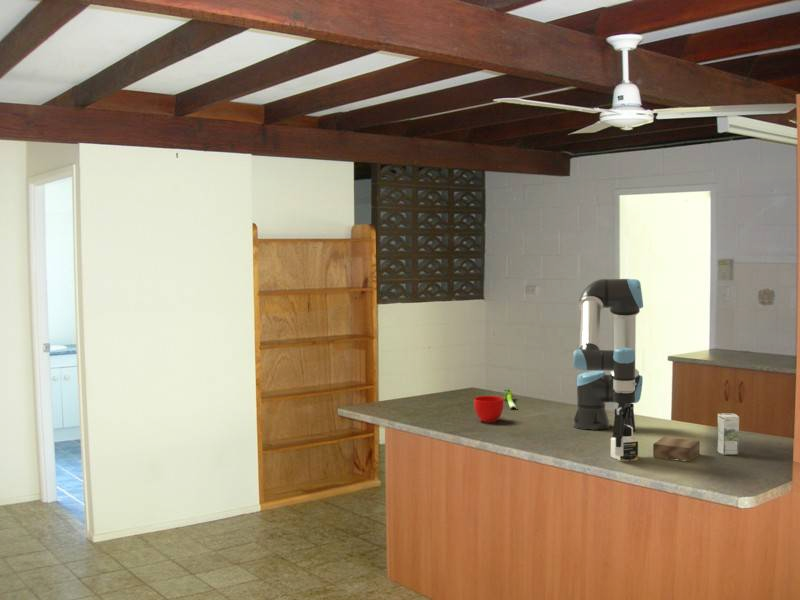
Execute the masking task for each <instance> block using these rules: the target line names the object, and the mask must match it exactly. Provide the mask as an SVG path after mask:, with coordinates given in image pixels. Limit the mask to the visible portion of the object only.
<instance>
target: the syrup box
mask: <svg viewBox="0 0 800 600" xmlns="http://www.w3.org/2000/svg"><path fill="white" fill-rule="evenodd" d="M739 436H740V416H738V415H737V414H736V413H733V412H732V413H727V412H726V413H724V412H723V413H717V436H716V437H717V444H716V451H717V452H718V453H720V454H721V455H723V456H734V455H735V456H736V455H737V456H739V449H740V448H739V447H740V446H739V442H740V437H739Z"/></svg>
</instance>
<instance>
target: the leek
mask: <svg viewBox="0 0 800 600" xmlns="http://www.w3.org/2000/svg"><path fill="white" fill-rule="evenodd" d="M503 391H504V392H502V393H503V394H502V395H503V399H504V401H507V404H508V407H509V409H510V410H511V409H512V408H516V409H518V410H519V408H518V406H516V404H515V403H514V401H513V398H514V397H515V395H514V393H513V390H512V389H511V388H507V389H504V390H503ZM516 409H515V410H516Z"/></svg>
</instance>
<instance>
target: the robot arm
mask: <svg viewBox="0 0 800 600" xmlns="http://www.w3.org/2000/svg"><path fill="white" fill-rule="evenodd" d="M642 291H643V290H642V286H641V281H640V280H639V279H633V278H610V279H609V278H608V279H607V278H600V279H597V280H594V281H592V282H591V283H589V284H588V285H587V286H586V287H585V288H584V289H583V291H582V293H581V294H580V295H579V296H580V297H579V299H578V308H579V310H580V328H579V331H580V332H579V349H575V350H574V351H573V357H572V358H573V368H574V369H575V370H579V371H586V372H582V373H580V374H578V375H577V378H576V380H577V381H576V394H577V395H576V410H575V414H574V416H573V420H572V427H573V428H577V429H579V428H580V429H579V430H586V429H591V430H590V431H595V430H596V431H598V429H601V430H606V428H607V429H609V428H610V419H609V417H608V414H607V410H606V403H611V404H614V403H615V404H616V403H617V408H615V409H614V420H613V429H612V431H613V432H612V438H615V455H616V456H623V449H624V438H622V437H623V430H624V425H629V426H631V427H633V433H635V432H636V421H635V411H634V404H636V403H638V402H640V400H641V396H642V389H643V376H642V375H640V372H639V370H638V369H637V368H636V344H637V343H636V340H637V339H636V335H637V334H636V329H637V328H636V326H637V325H636V324H637V323H636V321H637V320H636V319H637V315H638V314H639V313H640V311H641V310H640V309H642V308H644V302H643V292H642ZM604 308H605V309H609V310H610V311H609V312H610V313H611V314H612V316H613V350H610V349H609V350H608V349H607V350H602V349H600V348H601V345H600V344H601V312H602V311H603V309H604ZM606 371H608V372H609V371H610V372H609V373H610V374H606Z"/></svg>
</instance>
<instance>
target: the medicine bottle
mask: <svg viewBox="0 0 800 600" xmlns="http://www.w3.org/2000/svg"><path fill="white" fill-rule="evenodd" d="M622 438H624V449H623V456H616V455H615V437H610V457H611V458H613V459H615V460H616V459H617V461H619V462H628V461H629V460H631V461H637V460H639V440H637V439H635V438H634V432H633V427H631V426H629V425H624V430H623V437H622ZM629 462H630V461H629Z"/></svg>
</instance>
